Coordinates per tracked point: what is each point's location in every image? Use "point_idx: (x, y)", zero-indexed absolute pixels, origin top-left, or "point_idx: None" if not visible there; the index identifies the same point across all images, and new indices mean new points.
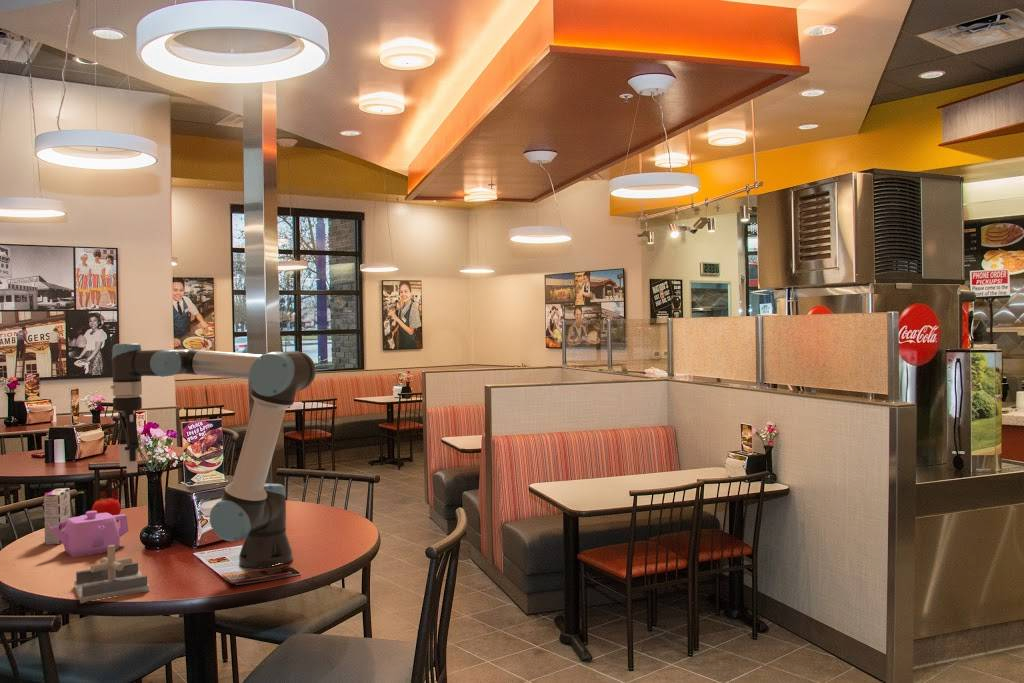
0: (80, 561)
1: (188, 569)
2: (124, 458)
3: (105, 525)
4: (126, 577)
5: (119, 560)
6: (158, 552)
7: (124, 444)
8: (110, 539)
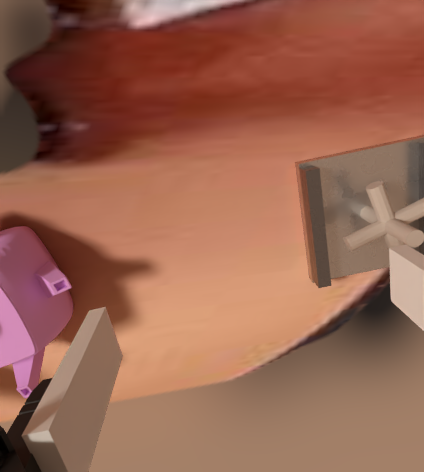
0: (115, 291)
1: (298, 45)
2: (103, 368)
3: (14, 278)
4: (341, 187)
5: (391, 209)
6: (94, 126)
7: (67, 466)
8: (31, 251)
